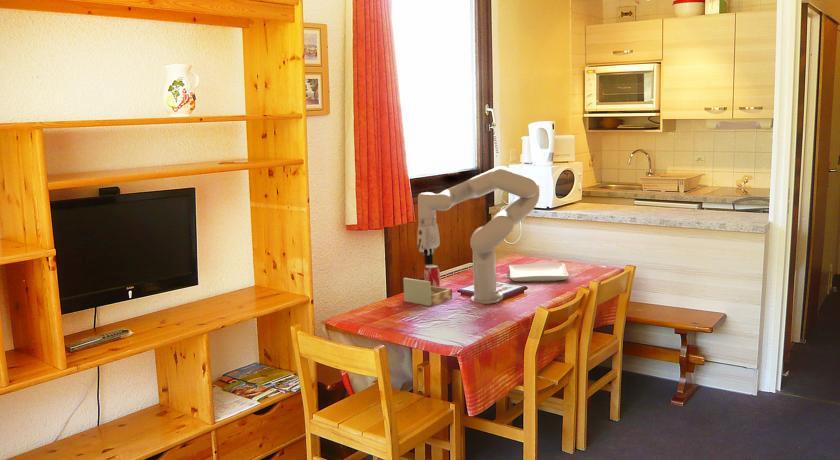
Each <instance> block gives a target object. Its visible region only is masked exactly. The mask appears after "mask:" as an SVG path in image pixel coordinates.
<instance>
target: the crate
mask: <svg viewBox="0 0 840 460" xmlns="http://www.w3.org/2000/svg"><path fill="white" fill-rule="evenodd" d="M452 299H453V289H452V288H447V287H441V286H440V287H435V286H431V304H432V305H431V307H433V306H436V305H439V304H442V303H445V302H448V301H450V300H452Z"/></svg>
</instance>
